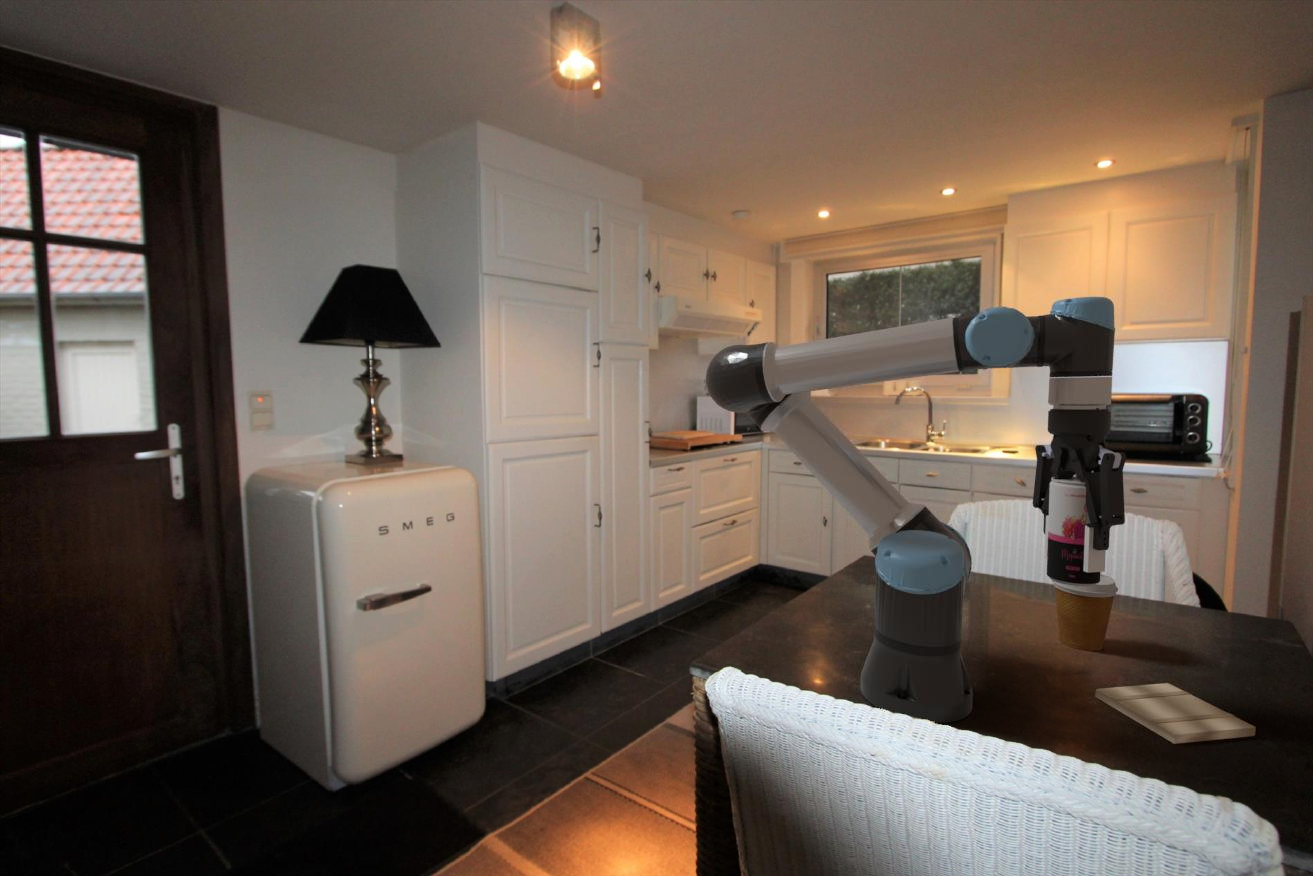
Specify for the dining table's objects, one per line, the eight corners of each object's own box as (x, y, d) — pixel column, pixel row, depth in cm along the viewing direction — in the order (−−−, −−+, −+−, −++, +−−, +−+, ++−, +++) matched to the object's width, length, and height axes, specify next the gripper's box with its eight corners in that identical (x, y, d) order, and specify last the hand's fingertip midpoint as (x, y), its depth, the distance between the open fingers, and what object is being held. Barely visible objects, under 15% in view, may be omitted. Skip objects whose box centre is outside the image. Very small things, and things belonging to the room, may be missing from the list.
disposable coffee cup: (1125, 657, 104) (1130, 587, 103) (1062, 652, 106) (1066, 584, 105) (1097, 634, 113) (1101, 570, 112) (1039, 630, 115) (1043, 567, 114)
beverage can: (1081, 590, 88) (1085, 484, 86) (1036, 577, 94) (1039, 478, 92) (1110, 583, 90) (1114, 480, 89) (1064, 571, 96) (1068, 475, 95)
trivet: (1174, 743, 79) (1174, 734, 79) (1095, 696, 91) (1095, 688, 91) (1254, 735, 81) (1255, 726, 81) (1167, 690, 93) (1167, 682, 93)
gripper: (1166, 408, 81) (1158, 582, 83) (1050, 405, 100) (1045, 546, 102) (1115, 410, 80) (1107, 586, 81) (1007, 406, 99) (1004, 548, 101)
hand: (1073, 563), depth 92 cm, fingers closed on beverage can, 6 cm apart
